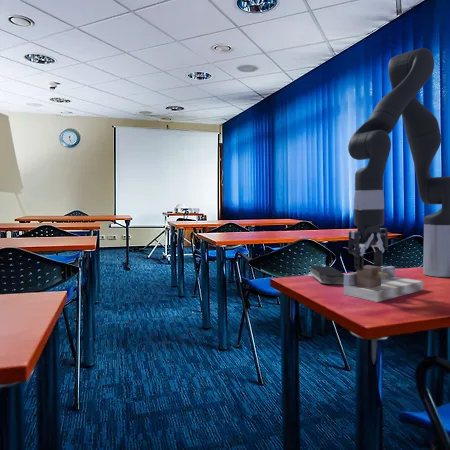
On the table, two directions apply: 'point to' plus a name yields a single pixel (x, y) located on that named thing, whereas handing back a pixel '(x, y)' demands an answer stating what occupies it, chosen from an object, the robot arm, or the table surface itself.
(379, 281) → the brown block with peg
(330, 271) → the black sponge
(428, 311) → the table surface
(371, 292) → the grey flat tray
